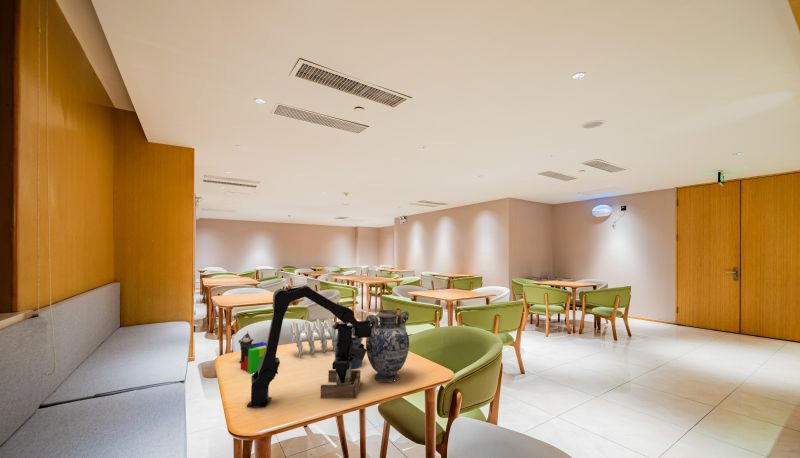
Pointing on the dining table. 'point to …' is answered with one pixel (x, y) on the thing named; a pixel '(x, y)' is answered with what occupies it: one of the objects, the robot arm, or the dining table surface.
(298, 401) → the dining table surface
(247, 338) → the dark lantern
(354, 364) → the canister
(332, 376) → the open wooden frame
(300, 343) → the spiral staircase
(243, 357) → the puzzle toy
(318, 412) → the dining table surface
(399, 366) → the decorative vase
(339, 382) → the block
